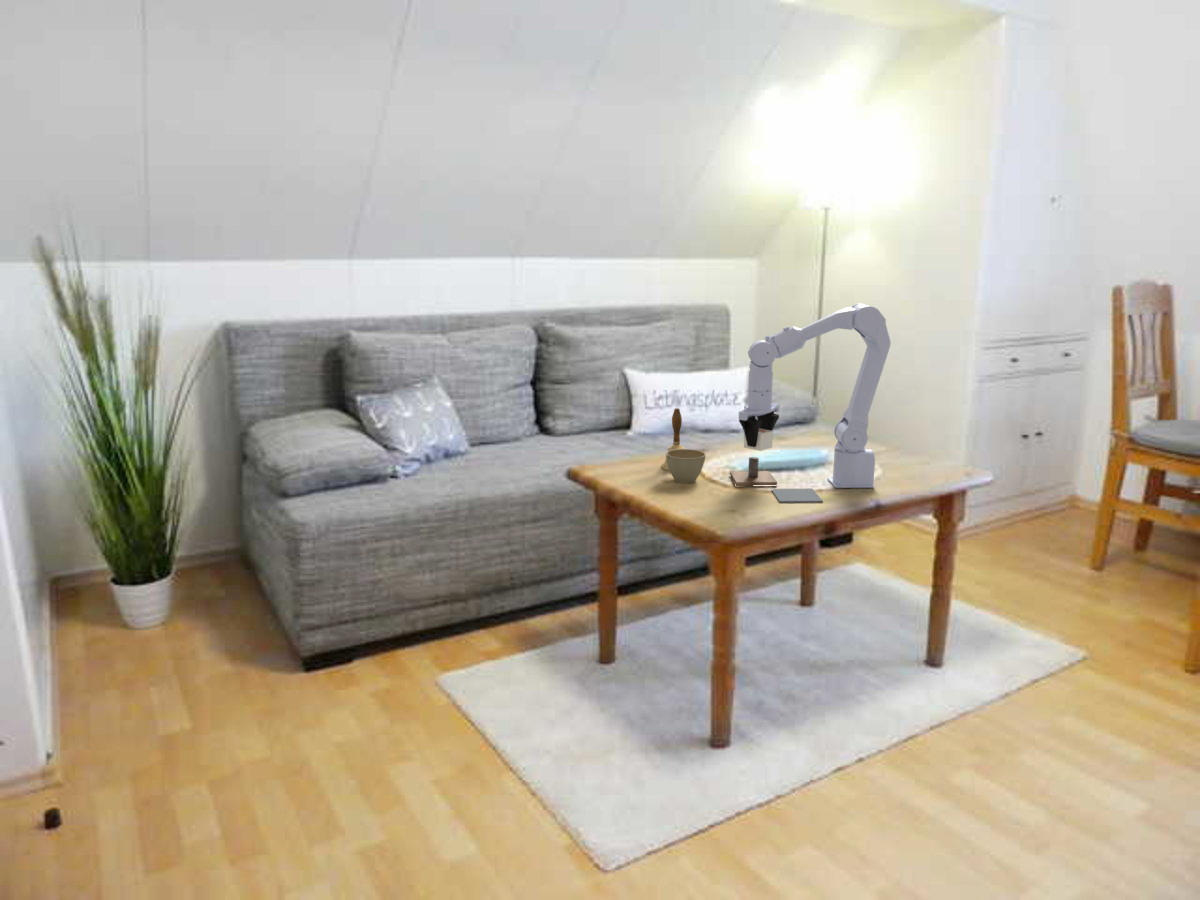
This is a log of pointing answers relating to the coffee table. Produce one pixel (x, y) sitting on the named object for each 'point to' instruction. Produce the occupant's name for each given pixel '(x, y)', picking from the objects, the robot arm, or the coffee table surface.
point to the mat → (797, 495)
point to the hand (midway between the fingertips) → (758, 444)
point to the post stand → (752, 475)
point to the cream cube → (761, 440)
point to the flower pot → (685, 464)
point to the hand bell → (675, 434)
